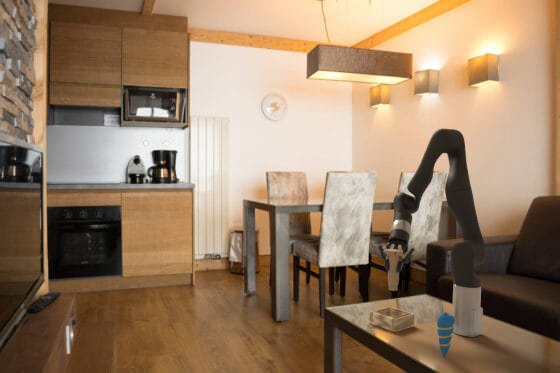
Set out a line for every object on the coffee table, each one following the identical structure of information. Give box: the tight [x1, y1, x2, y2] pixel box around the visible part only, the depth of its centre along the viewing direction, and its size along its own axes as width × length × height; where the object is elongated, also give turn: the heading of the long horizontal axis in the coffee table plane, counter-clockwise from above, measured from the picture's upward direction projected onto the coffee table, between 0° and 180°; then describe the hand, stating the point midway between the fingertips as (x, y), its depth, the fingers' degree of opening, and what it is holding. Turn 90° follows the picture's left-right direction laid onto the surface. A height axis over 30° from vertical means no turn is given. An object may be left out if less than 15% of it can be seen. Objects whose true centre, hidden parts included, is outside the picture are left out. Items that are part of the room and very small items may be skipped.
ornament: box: [436, 309, 455, 358], centre depth 143 cm, size 5×5×15 cm
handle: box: [384, 249, 403, 292], centre depth 172 cm, size 5×6×15 cm
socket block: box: [369, 306, 415, 333], centre depth 173 cm, size 12×12×5 cm
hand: (392, 270), depth 171 cm, fingers closed on handle, 3 cm apart
